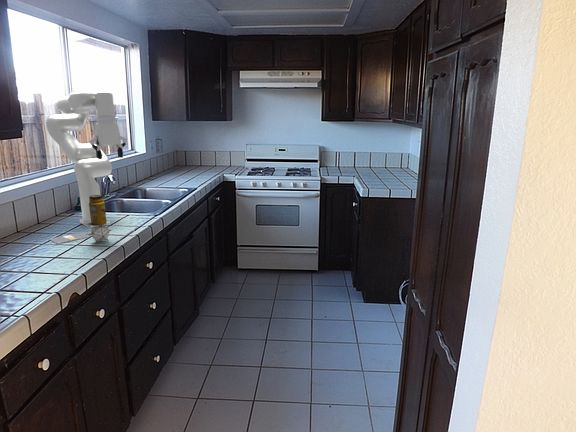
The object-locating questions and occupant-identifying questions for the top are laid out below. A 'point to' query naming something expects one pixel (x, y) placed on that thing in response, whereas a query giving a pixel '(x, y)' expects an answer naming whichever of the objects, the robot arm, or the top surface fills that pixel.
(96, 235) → the game die
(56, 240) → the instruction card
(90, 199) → the condiment
